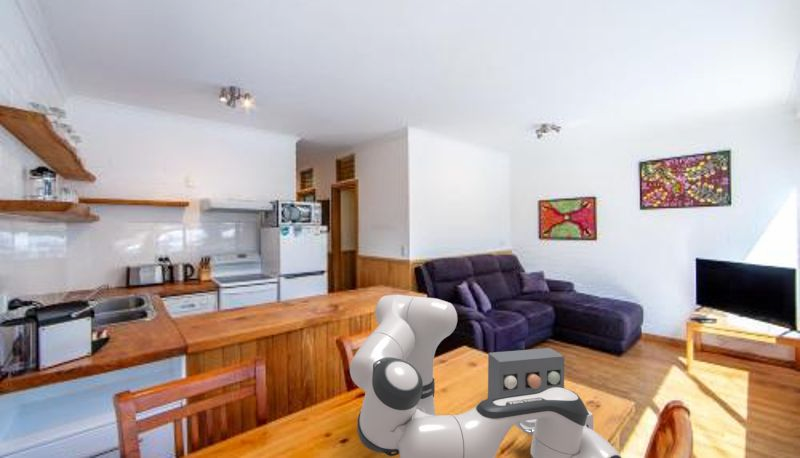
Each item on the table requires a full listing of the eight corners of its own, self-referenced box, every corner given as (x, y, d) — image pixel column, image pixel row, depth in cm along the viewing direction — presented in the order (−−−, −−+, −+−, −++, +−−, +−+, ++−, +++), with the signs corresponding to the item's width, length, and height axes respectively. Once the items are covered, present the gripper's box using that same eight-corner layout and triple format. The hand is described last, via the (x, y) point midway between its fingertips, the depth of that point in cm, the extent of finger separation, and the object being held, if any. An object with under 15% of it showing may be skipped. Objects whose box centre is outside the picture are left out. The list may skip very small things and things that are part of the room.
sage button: (548, 385, 117) (549, 372, 117) (545, 382, 119) (545, 370, 119) (559, 383, 118) (560, 371, 118) (556, 381, 120) (556, 369, 120)
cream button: (505, 389, 114) (505, 376, 114) (502, 386, 116) (502, 374, 116) (516, 388, 115) (517, 375, 114) (513, 385, 117) (513, 373, 116)
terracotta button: (529, 389, 114) (529, 376, 114) (526, 386, 116) (526, 373, 116) (541, 388, 115) (541, 375, 115) (537, 385, 117) (537, 372, 117)
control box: (499, 410, 114) (499, 361, 113) (487, 398, 122) (488, 352, 121) (563, 402, 119) (564, 356, 118) (549, 391, 127) (549, 347, 126)
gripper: (527, 446, 87) (499, 416, 100) (597, 436, 91) (562, 408, 105) (527, 421, 87) (500, 394, 100) (598, 412, 91) (562, 387, 104)
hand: (532, 401), depth 102 cm, fingers closed
